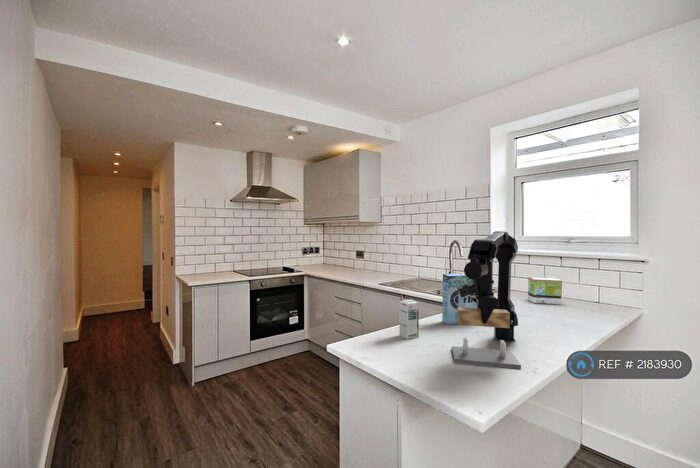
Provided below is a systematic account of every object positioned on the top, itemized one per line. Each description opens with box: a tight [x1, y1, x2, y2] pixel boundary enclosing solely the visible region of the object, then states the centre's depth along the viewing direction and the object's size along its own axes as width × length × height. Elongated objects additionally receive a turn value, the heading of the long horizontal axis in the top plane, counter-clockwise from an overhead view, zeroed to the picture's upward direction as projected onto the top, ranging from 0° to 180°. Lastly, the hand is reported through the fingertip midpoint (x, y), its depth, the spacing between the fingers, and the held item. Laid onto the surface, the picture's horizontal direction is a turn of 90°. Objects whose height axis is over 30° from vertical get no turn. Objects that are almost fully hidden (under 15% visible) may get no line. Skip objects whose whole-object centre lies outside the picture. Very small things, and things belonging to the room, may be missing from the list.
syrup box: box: [398, 299, 420, 340], centre depth 132 cm, size 6×6×14 cm
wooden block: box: [457, 307, 510, 328], centre depth 110 cm, size 16×5×5 cm, turn 78°
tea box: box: [527, 276, 563, 305], centre depth 194 cm, size 15×10×15 cm, turn 81°
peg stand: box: [451, 337, 522, 370], centre depth 110 cm, size 20×12×6 cm, turn 77°
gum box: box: [441, 272, 477, 325], centre depth 153 cm, size 20×5×23 cm, turn 105°
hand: (482, 321), depth 110 cm, fingers closed on wooden block, 5 cm apart
